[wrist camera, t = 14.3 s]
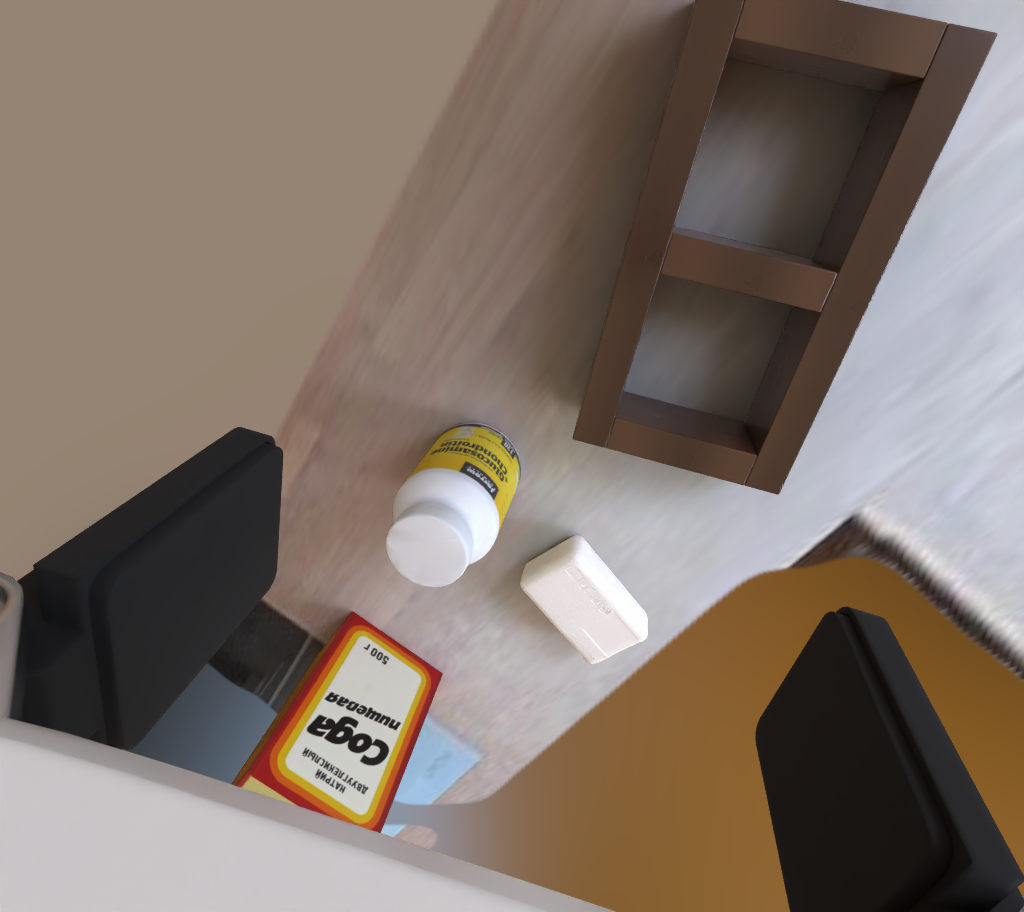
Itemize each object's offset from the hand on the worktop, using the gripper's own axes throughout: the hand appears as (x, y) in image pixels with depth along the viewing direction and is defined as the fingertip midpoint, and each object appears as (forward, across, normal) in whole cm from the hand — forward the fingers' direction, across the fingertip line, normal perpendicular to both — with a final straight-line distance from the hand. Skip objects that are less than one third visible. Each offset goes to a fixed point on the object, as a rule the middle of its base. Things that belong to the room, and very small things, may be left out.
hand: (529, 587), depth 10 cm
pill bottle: (+30, +5, +14) cm, 34 cm away
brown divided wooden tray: (+30, -7, -3) cm, 31 cm away
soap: (+30, -5, +22) cm, 37 cm away
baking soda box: (+30, +10, +37) cm, 48 cm away
